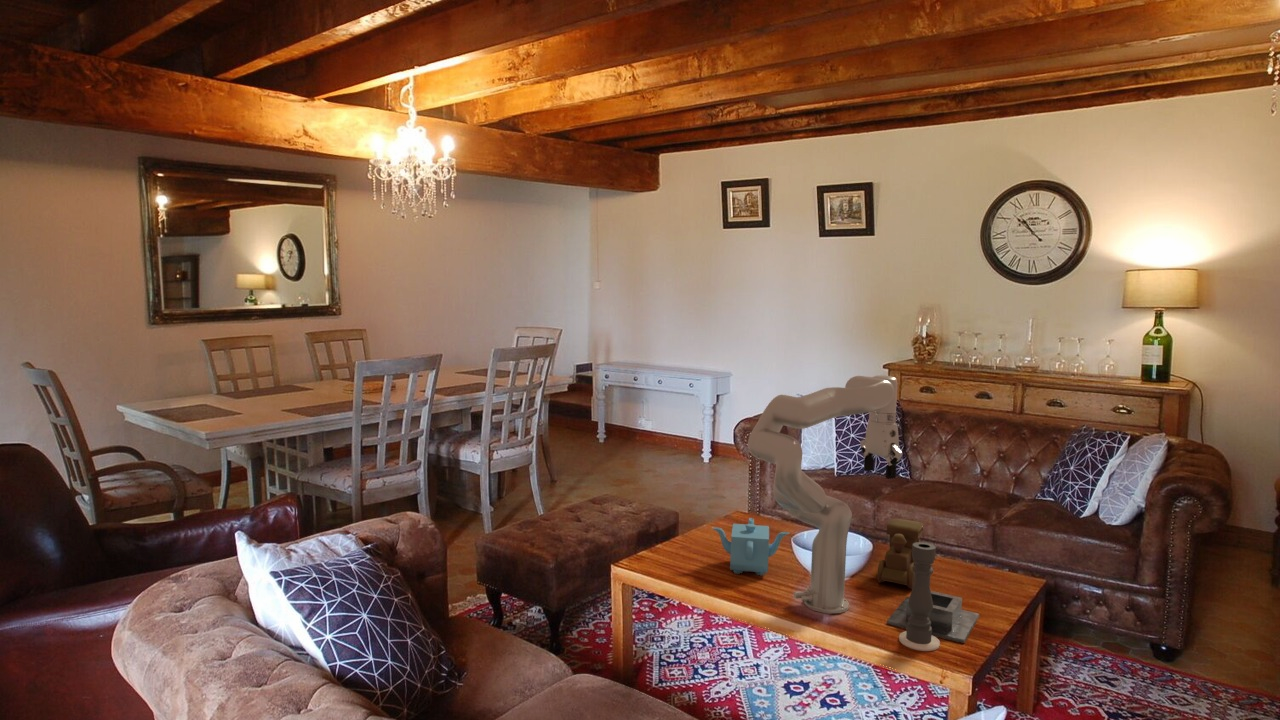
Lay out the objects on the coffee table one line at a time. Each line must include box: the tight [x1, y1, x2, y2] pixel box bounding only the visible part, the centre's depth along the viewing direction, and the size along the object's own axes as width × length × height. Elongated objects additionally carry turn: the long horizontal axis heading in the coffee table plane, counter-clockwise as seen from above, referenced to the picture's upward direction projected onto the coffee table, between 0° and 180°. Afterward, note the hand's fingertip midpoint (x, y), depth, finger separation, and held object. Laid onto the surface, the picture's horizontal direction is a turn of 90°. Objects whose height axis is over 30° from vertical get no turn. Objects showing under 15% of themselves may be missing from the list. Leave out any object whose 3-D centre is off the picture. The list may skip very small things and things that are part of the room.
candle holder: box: [906, 541, 937, 644], centre depth 204 cm, size 6×6×25 cm
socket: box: [886, 590, 980, 644], centre depth 218 cm, size 20×20×6 cm
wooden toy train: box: [876, 518, 924, 590], centre depth 248 cm, size 20×11×17 cm, turn 151°
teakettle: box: [711, 517, 790, 576], centre depth 255 cm, size 19×19×15 cm
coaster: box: [898, 630, 941, 652], centre depth 205 cm, size 10×10×1 cm
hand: (879, 474), depth 234 cm, fingers open, 9 cm apart
